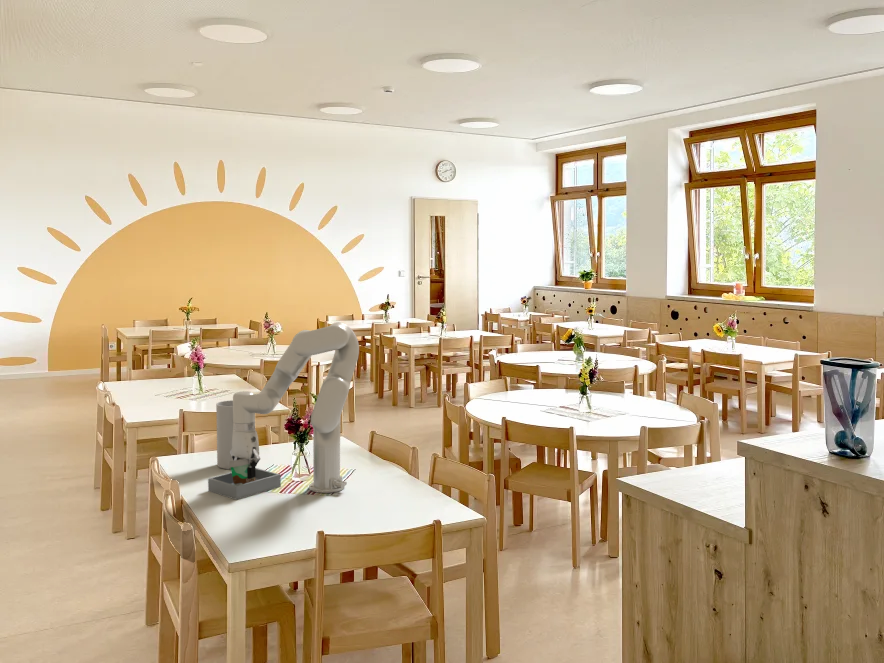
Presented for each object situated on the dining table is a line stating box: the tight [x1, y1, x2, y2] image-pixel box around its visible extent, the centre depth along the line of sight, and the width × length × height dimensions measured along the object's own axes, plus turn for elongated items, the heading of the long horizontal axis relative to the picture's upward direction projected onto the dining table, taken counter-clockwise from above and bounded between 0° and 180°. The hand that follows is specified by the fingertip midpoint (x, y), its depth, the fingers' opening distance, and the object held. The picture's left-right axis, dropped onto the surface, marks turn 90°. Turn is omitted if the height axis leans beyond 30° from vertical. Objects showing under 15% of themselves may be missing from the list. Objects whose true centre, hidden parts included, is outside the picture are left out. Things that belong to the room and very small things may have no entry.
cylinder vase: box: [215, 399, 234, 470], centre depth 311 cm, size 12×12×25 cm
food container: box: [229, 457, 256, 486], centre depth 281 cm, size 12×6×10 cm, turn 163°
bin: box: [207, 467, 282, 500], centre depth 282 cm, size 16×20×4 cm
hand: (245, 475), depth 281 cm, fingers closed on food container, 6 cm apart
